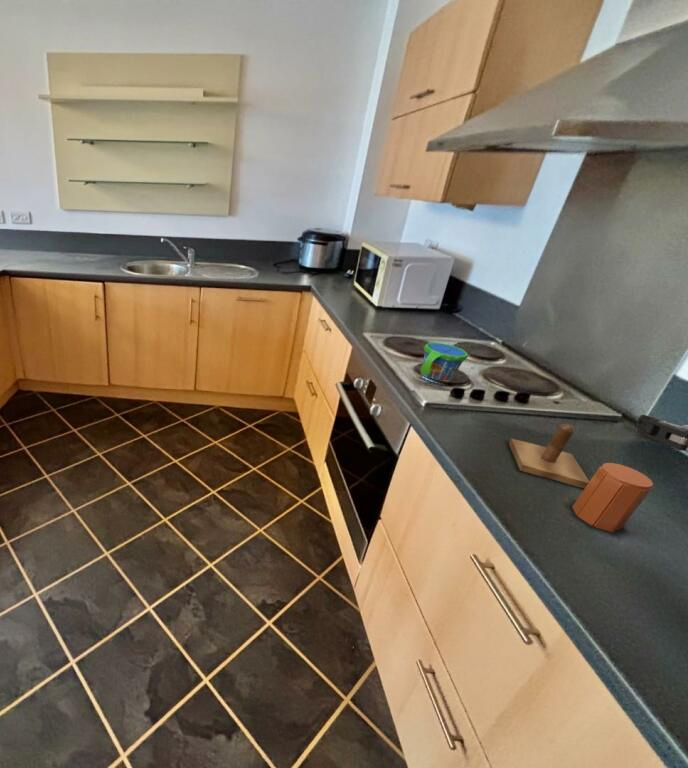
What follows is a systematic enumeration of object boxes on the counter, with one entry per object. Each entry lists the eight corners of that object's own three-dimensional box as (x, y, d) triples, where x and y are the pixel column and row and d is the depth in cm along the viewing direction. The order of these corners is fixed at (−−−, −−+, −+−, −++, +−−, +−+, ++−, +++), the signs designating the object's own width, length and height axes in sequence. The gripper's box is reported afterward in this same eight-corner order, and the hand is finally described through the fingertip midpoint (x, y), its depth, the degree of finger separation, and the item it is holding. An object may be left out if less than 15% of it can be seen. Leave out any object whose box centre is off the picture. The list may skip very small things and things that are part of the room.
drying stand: (568, 459, 90) (593, 419, 85) (586, 489, 81) (615, 447, 77) (508, 443, 94) (529, 405, 89) (519, 470, 85) (543, 429, 81)
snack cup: (435, 370, 129) (447, 339, 125) (467, 385, 121) (482, 353, 116) (400, 376, 123) (411, 344, 119) (432, 392, 115) (446, 359, 110)
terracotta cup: (610, 513, 76) (642, 470, 71) (625, 536, 70) (661, 491, 66) (568, 500, 78) (596, 458, 73) (579, 522, 73) (611, 478, 68)
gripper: (896, 458, 46) (742, 414, 61) (740, 429, 49) (629, 394, 64) (855, 516, 48) (716, 460, 63) (708, 485, 51) (608, 438, 66)
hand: (673, 427), depth 64 cm, fingers open, 8 cm apart
